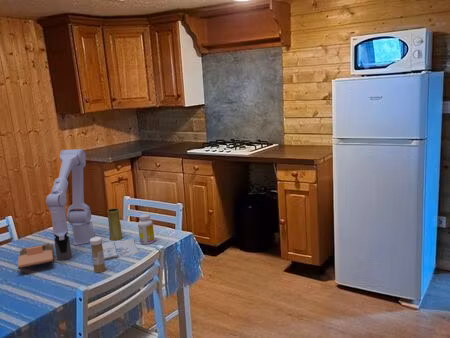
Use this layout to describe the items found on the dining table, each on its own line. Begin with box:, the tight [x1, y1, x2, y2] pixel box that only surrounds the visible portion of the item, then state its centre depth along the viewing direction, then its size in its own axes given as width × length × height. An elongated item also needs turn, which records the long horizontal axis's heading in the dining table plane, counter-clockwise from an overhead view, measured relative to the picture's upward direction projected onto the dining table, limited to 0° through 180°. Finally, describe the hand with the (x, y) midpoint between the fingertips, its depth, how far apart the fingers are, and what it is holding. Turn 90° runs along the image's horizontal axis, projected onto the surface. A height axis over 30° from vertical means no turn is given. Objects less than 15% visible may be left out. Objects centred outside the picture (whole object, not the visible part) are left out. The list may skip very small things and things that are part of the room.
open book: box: [90, 238, 140, 261], centre depth 188 cm, size 19×20×2 cm
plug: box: [53, 238, 73, 262], centre depth 183 cm, size 6×4×8 cm, turn 114°
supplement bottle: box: [137, 213, 155, 245], centre depth 194 cm, size 7×7×13 cm
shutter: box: [16, 244, 54, 269], centre depth 174 cm, size 13×11×4 cm
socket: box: [18, 243, 55, 269], centre depth 186 cm, size 14×20×3 cm
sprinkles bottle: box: [89, 236, 106, 274], centre depth 167 cm, size 5×5×14 cm
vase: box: [106, 207, 124, 242], centre depth 201 cm, size 6×6×14 cm
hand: (63, 250), depth 183 cm, fingers open, 4 cm apart
